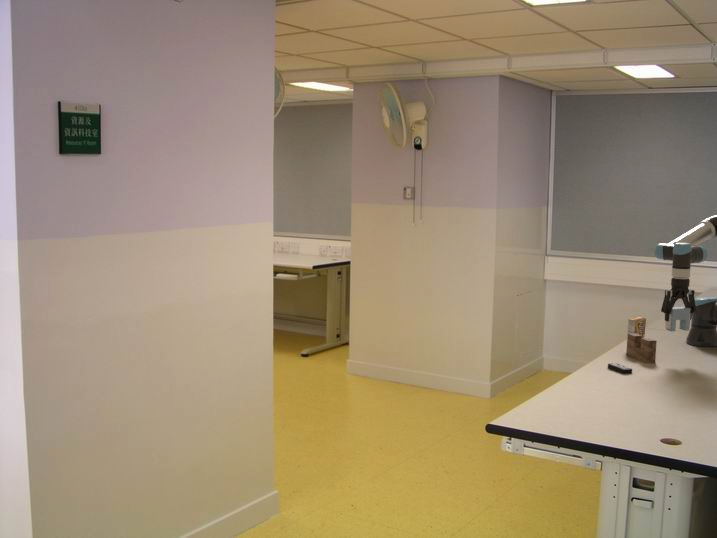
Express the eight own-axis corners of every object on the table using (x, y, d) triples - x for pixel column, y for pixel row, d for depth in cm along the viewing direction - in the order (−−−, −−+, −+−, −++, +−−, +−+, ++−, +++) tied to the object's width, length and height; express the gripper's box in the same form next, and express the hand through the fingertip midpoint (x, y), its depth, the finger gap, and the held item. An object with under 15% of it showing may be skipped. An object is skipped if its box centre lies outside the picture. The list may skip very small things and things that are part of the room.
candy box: (636, 348, 380) (638, 316, 378) (644, 349, 377) (646, 318, 375) (626, 350, 375) (627, 318, 373) (634, 352, 372) (636, 320, 370)
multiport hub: (623, 375, 330) (623, 369, 330) (607, 368, 341) (607, 363, 340) (632, 374, 332) (632, 368, 331) (615, 368, 342) (616, 362, 342)
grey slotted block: (683, 328, 356) (684, 306, 355) (689, 330, 353) (690, 308, 351) (665, 329, 354) (667, 307, 353) (671, 331, 350) (672, 309, 349)
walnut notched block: (634, 354, 367) (635, 333, 365) (655, 362, 351) (656, 340, 350) (626, 354, 366) (627, 333, 364) (647, 363, 350) (648, 340, 349)
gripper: (696, 276, 357) (692, 325, 360) (653, 277, 351) (651, 327, 354) (707, 278, 350) (704, 328, 352) (664, 279, 344) (661, 330, 347)
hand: (677, 327), depth 353 cm, fingers closed on grey slotted block, 9 cm apart
